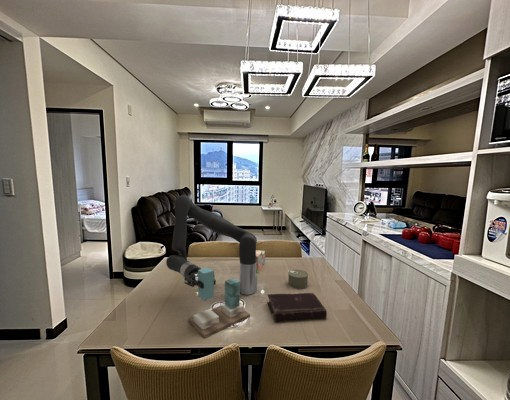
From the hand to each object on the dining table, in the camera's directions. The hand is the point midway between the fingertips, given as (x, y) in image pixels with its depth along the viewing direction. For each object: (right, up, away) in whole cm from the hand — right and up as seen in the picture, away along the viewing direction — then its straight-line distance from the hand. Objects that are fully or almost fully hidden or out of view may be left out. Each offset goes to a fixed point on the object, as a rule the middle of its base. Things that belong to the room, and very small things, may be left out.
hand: (209, 284), depth 106 cm
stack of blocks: (+21, -13, +72) cm, 76 cm away
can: (+46, -16, +46) cm, 67 cm away
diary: (+40, -19, +18) cm, 47 cm away
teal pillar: (-2, -6, +3) cm, 7 cm away
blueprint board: (+3, -19, +9) cm, 21 cm away
